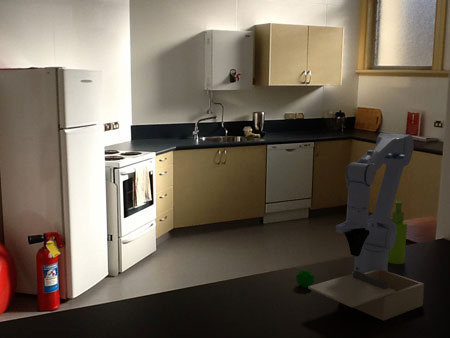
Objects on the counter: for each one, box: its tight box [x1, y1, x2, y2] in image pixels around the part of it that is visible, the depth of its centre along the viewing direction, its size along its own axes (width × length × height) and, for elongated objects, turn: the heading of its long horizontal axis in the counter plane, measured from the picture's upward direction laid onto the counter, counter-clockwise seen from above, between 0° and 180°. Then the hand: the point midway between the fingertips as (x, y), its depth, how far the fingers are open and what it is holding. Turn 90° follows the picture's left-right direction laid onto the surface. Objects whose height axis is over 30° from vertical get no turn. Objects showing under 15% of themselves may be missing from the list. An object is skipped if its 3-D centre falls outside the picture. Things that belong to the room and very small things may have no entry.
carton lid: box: [307, 270, 395, 308], centre depth 132 cm, size 14×16×2 cm
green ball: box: [295, 269, 315, 289], centre depth 151 cm, size 5×5×5 cm
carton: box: [352, 269, 425, 321], centre depth 139 cm, size 14×16×6 cm
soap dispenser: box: [388, 199, 408, 265], centre depth 174 cm, size 6×7×20 cm
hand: (355, 255), depth 147 cm, fingers closed
